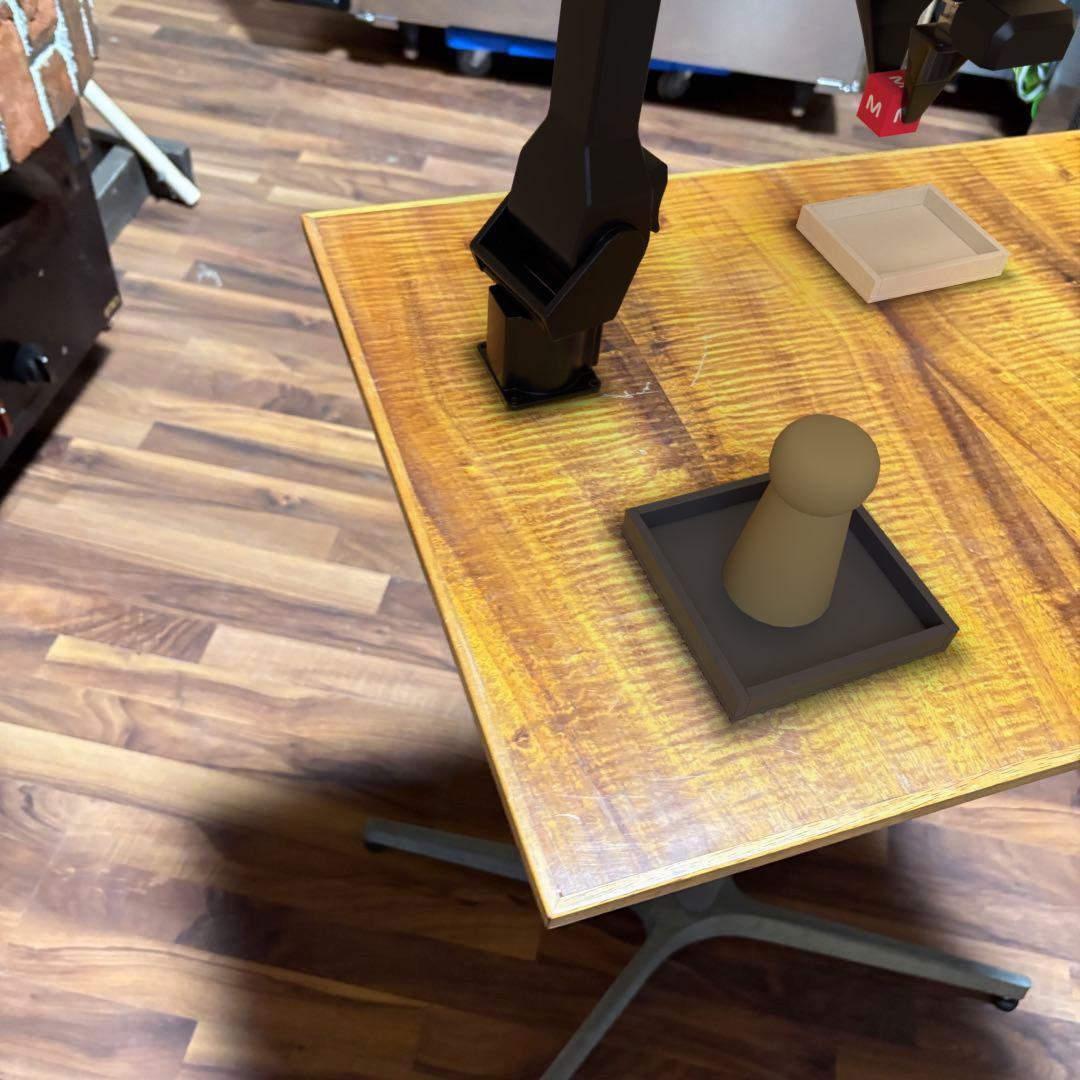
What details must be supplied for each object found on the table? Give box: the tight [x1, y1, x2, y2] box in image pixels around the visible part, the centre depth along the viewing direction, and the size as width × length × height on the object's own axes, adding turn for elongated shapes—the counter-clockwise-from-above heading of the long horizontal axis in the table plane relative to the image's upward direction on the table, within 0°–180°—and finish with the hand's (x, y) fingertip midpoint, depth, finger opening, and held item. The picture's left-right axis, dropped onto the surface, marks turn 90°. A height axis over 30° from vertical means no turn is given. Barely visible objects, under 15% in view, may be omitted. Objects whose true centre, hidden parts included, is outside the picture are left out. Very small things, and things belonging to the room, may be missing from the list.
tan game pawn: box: [723, 413, 882, 627], centre depth 52 cm, size 6×6×11 cm
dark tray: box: [621, 471, 961, 723], centre depth 56 cm, size 13×13×2 cm
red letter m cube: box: [856, 68, 923, 138], centre depth 70 cm, size 3×3×3 cm
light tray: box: [795, 182, 1012, 304], centre depth 79 cm, size 12×10×2 cm
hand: (894, 110), depth 70 cm, fingers closed on red letter m cube, 3 cm apart
